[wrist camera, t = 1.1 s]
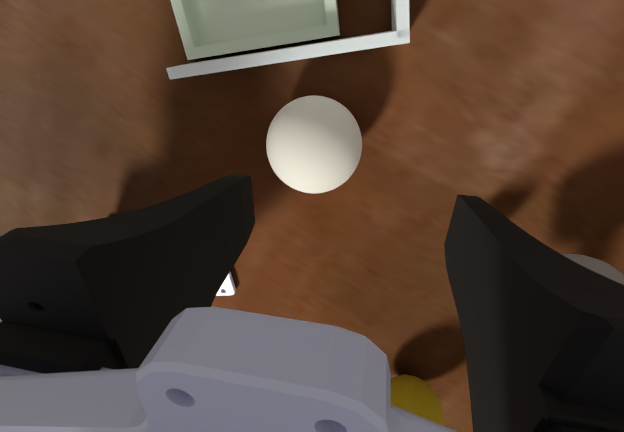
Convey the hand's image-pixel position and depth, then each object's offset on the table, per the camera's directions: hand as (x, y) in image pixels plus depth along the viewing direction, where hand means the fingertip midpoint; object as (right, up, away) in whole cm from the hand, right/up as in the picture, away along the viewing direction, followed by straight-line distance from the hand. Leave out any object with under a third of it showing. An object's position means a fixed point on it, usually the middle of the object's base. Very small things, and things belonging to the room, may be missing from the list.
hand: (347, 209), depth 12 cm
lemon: (+8, -15, +21) cm, 27 cm away
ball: (-1, +5, +10) cm, 12 cm away
